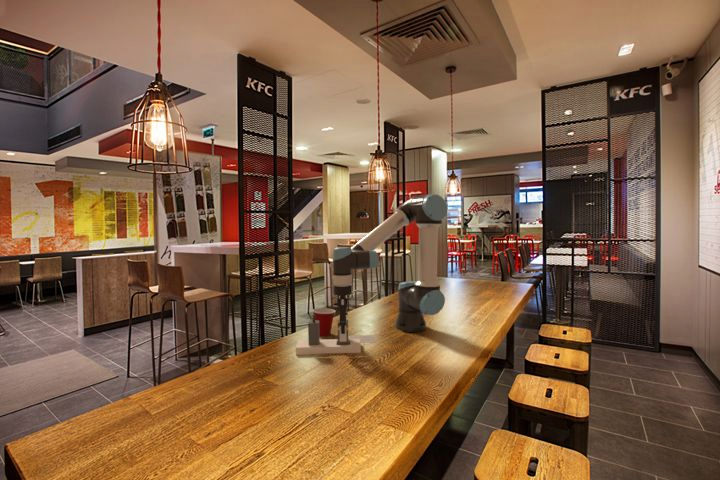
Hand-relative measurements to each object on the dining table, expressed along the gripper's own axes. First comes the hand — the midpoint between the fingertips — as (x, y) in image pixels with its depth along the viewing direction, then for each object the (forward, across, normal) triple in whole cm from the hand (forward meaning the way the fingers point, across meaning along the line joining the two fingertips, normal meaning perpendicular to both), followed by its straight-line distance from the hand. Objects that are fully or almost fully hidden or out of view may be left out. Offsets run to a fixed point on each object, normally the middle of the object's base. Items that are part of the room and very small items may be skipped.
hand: (343, 335), depth 151 cm
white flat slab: (+6, -12, +8) cm, 16 cm away
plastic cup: (+6, -20, -9) cm, 23 cm away
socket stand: (+6, 0, -6) cm, 8 cm away
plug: (+6, 0, 0) cm, 6 cm away
